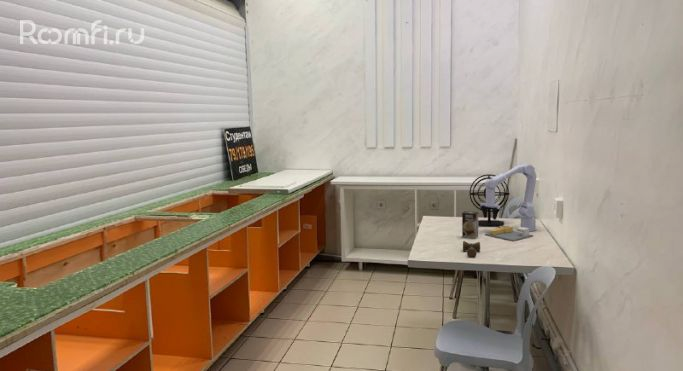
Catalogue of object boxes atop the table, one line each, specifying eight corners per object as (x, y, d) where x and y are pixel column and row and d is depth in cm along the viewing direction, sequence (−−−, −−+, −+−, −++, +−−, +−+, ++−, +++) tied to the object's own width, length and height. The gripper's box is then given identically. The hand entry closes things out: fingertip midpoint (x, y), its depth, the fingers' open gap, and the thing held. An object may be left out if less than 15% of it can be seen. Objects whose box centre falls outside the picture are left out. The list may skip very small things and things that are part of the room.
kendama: (462, 258, 275) (462, 248, 294) (480, 259, 272) (479, 248, 292) (462, 247, 274) (462, 238, 293) (481, 248, 271) (480, 238, 291)
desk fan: (508, 222, 358) (509, 173, 353) (510, 227, 341) (510, 176, 336) (469, 221, 365) (469, 173, 360) (469, 226, 348) (469, 176, 343)
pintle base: (504, 230, 332) (504, 222, 331) (533, 236, 314) (533, 228, 313) (484, 235, 322) (484, 227, 321) (513, 241, 303) (513, 232, 303)
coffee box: (461, 237, 318) (461, 212, 316) (464, 235, 324) (464, 210, 321) (476, 238, 314) (476, 213, 312) (478, 236, 319) (478, 211, 317)
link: (504, 229, 329) (504, 225, 329) (512, 231, 324) (512, 226, 323) (488, 233, 320) (488, 229, 320) (496, 235, 315) (496, 230, 315)
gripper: (477, 197, 328) (477, 217, 330) (495, 199, 316) (494, 220, 318) (484, 196, 332) (484, 216, 334) (502, 198, 320) (502, 219, 322)
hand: (489, 218), depth 326 cm, fingers open, 7 cm apart
